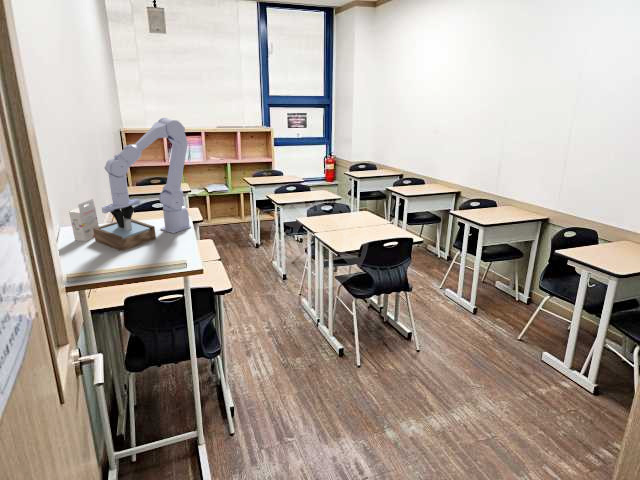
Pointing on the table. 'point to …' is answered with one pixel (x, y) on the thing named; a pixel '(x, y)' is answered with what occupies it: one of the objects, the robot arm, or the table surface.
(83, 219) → the ink cartridge box
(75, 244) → the table surface
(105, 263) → the table surface
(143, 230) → the cover plate
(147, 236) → the walnut box
